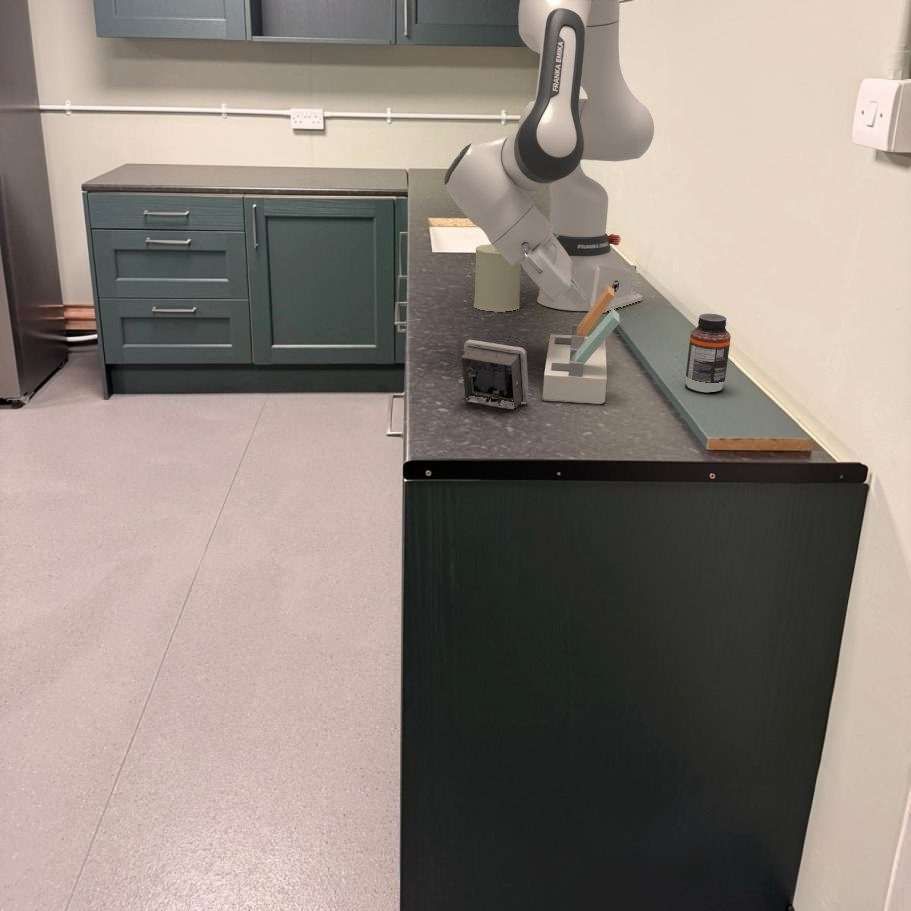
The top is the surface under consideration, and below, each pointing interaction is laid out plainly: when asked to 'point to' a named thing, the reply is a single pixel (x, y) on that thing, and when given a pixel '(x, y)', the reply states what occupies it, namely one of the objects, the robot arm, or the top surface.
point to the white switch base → (574, 371)
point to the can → (496, 281)
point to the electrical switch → (495, 371)
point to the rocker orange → (595, 312)
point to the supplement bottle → (708, 350)
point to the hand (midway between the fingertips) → (583, 303)
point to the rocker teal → (597, 337)
